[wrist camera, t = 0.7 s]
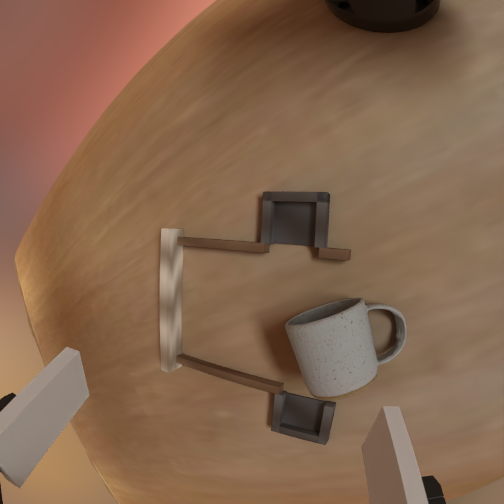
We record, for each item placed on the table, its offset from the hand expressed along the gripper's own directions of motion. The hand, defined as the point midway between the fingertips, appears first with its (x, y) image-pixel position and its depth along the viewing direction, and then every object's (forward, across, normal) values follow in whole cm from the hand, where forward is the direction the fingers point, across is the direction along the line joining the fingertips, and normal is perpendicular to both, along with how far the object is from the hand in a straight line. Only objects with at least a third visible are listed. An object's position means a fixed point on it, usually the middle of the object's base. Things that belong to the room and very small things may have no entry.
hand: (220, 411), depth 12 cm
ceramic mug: (+19, +10, -6) cm, 23 cm away
